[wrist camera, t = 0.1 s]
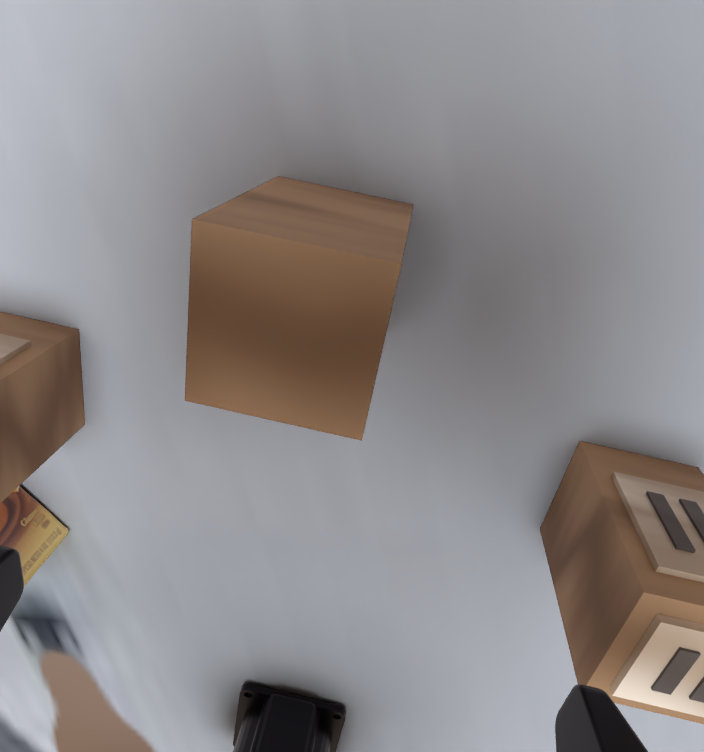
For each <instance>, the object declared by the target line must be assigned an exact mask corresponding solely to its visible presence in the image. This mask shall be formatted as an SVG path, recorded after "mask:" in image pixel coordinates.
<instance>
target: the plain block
mask: <svg viewBox="0 0 704 752" xmlns="http://www.w3.org/2000/svg"><path fill="white" fill-rule="evenodd" d="M412 209H413V204H408V203H404V202H399V201H394V200H389V199H385V198H380V197H375V196H370V195H365V194H361V193H356V192H351V191H346V190H342V189H337V188H332V187H327V186H322V185H318V184H313V183H308V182H303V181H299V180H294V179H289V178H284V177H280V176H278V177H276V178H273V179H271V180H269V181H267V182H265V183H263V184H261V185H259V186H257V187H255V188H253V189H251V190H249V191H247V192H245V193H243V194H241V195H239V196H237V197H235V198H233V199H231V200H229V201H227V202H225V203H223V204H221V205H219V206H217V207H215V208H213V209H211V210H209V211H207V212H205V213H203V214H201V215H199V216H197V217H195V218H193V219H192V231H191V257H190V282H189V307H188V332H187V357H186V383H185V401H189V402H194V403H198V404H203V405H207V406H211V407H216V408H220V409H225V410H229V411H233V412H238V413H242V414H247V415H251V416H256V417H260V418H264V419H269V420H273V421H278V422H282V423H286V424H291V425H295V426H300V427H304V428H308V429H313V430H317V431H322V432H326V433H331V434H335V435H339V436H344V437H348V438H353V439H357V440H361V441H362V437H363V433H364V428H365V424H366V419H367V415H368V411H369V406H370V402H371V397H372V393H373V388H374V384H375V380H376V375H377V371H378V366H379V362H380V357H381V353H382V349H383V344H384V340H385V335H386V331H387V326H388V322H389V318H390V313H391V309H392V304H393V300H394V296H395V291H396V287H397V282H398V278H399V273H400V269H401V265H402V260H403V254H404V249H405V244H406V239H407V234H408V229H409V224H410V219H411V214H412Z"/></svg>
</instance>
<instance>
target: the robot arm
mask: <svg viewBox="0 0 704 752" xmlns="http://www.w3.org/2000/svg"><path fill="white" fill-rule="evenodd" d="M23 588H24V579H23V573H22V566H21V560H20V554H19V552H18V551H17V550H16V549H14V548H10V547H6V546H2V545H0V631H1V630H2V628H3V626H4V624H5V623H6V621H7V619H8V618H9V616H10V614H11V613H12V611H13V609H14V608H15V606H16V604H17V603H18V601H19V599H20V597H21V595H22V592H23ZM345 715H346V710H345V708H344V707H342V706H339V705H335V704H331V703H327V702H323V701H319V700H315V699H311V698H307V697H303V696H299V695H295V694H291V693H286V692H282V691H278V690H274V689H270V688H266V687H262V686H258V685H254V684H249V683H247V684H244V685H243V686H242V688H241V691H240V697H239V704H238V712H237V719H236V726H235V734H234V741H233V745H234V751H233V752H335V751H336V748H337V744H338V741H339V738H340V734H341V731H342V727H343V724H344V721H345ZM555 733H556V751H557V752H648V751H647V749H646V748H645V747H644V745H643V744H642V742H641V741H640V739H639V738H638V737H637V735H636V734H635V732H634V731H633V729H632V728H631V727H630V725H629V724H628V722H627V721H626V719H625V718H624V717H623V715H622V714H621V712H620V711H619V709H618V708H617V707H616V705H615V704H614V702H613V701H612V699H611V698H610V697H609V695H608V694H607V693H606V692H605V691H603V690H602V689H599V688H596V687H591V686H587V685H583V684H578V685H575V686H574V687H573V689H572V690H571V692H570V694H569V695H568V697H567V698H566V700H565V702H564V703H563V705H562V707H561V708H560V710H559V712H558V714H557V717H556V724H555Z"/></svg>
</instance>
